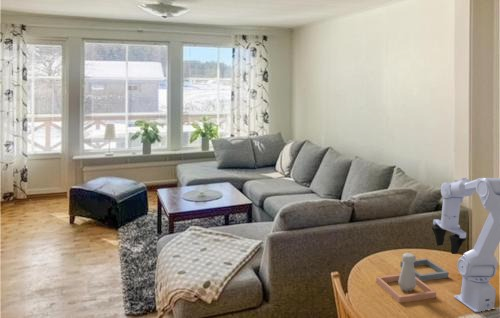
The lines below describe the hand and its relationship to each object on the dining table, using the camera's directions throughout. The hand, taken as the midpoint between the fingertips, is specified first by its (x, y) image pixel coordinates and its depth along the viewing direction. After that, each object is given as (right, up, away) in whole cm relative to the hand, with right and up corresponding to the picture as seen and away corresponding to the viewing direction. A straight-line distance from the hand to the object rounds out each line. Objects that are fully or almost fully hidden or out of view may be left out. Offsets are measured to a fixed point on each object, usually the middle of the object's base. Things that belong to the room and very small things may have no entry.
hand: (446, 249), depth 141 cm
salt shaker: (-18, -12, -8) cm, 23 cm away
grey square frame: (-7, -10, +4) cm, 13 cm away
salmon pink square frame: (-19, -12, -8) cm, 24 cm away
